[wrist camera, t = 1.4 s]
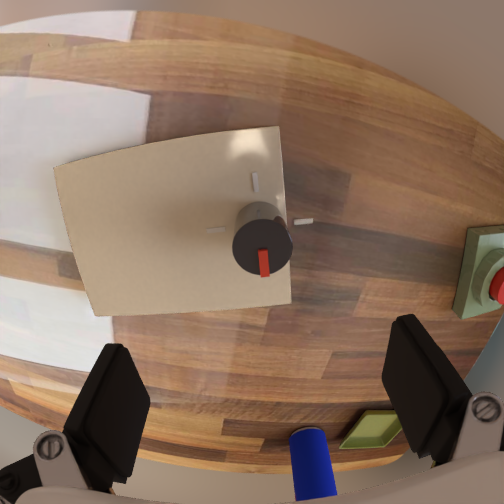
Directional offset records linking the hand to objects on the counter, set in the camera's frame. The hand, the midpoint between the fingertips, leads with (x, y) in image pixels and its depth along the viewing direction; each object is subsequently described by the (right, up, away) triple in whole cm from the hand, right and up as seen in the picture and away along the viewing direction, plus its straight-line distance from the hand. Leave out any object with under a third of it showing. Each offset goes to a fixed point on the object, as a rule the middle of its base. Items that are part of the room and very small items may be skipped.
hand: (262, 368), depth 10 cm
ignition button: (+26, +1, +14) cm, 30 cm away
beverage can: (+7, -22, +28) cm, 36 cm away
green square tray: (+17, -21, +27) cm, 38 cm away
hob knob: (0, +6, +12) cm, 14 cm away
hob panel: (-7, +6, +15) cm, 18 cm away
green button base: (+26, +2, +18) cm, 31 cm away
